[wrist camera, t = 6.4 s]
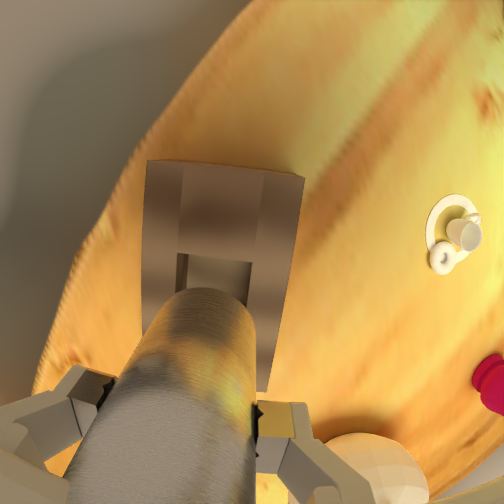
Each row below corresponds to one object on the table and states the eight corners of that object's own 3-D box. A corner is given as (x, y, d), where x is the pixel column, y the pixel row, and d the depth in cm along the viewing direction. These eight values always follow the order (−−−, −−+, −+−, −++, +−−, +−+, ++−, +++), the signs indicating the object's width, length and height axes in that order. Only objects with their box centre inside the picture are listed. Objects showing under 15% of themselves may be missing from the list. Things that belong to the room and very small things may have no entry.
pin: (157, 280, 13) (15, 471, 3) (262, 294, 13) (274, 539, 3) (156, 365, 14) (79, 550, 4) (249, 379, 14) (242, 586, 4)
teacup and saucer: (433, 280, 32) (450, 294, 28) (406, 223, 30) (424, 232, 26) (484, 237, 30) (504, 247, 26) (462, 180, 28) (483, 184, 24)
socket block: (168, 159, 28) (147, 160, 23) (295, 174, 29) (305, 177, 23) (160, 342, 34) (145, 374, 28) (265, 357, 34) (266, 392, 29)
